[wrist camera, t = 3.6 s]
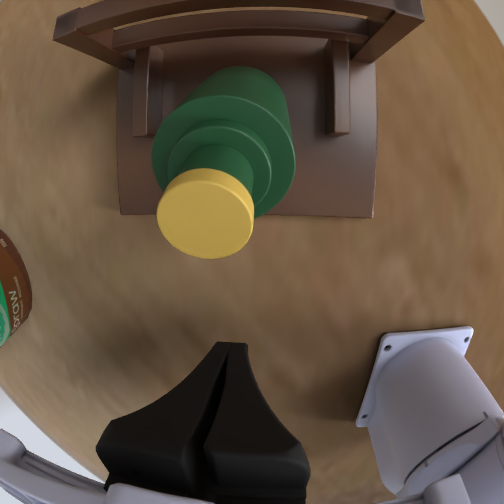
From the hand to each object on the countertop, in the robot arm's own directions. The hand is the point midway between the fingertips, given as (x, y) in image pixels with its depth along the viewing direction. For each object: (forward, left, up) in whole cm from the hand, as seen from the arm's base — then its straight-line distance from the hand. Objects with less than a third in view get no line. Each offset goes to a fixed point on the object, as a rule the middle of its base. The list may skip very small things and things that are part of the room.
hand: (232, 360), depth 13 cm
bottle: (+11, 0, -4) cm, 11 cm away
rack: (+11, 0, -6) cm, 12 cm away
